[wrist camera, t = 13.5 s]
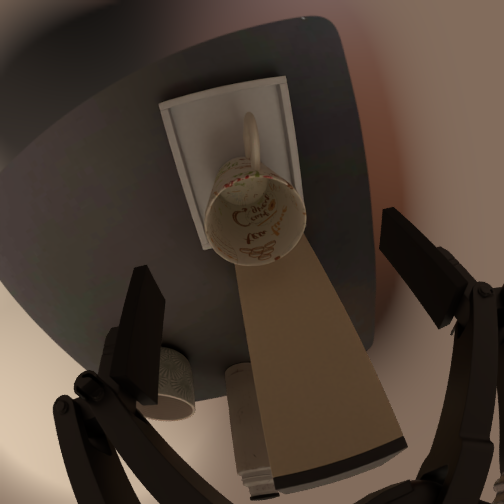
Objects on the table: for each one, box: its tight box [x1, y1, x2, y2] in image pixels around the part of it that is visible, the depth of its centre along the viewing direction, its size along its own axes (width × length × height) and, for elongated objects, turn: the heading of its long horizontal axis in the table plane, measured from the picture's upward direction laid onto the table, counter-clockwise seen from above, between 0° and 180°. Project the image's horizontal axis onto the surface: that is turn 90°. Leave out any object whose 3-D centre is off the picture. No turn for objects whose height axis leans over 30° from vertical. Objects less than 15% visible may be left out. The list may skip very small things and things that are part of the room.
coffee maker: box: [159, 76, 408, 494], centre depth 21 cm, size 27×13×29 cm, turn 11°
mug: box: [204, 112, 306, 266], centre depth 25 cm, size 8×13×10 cm, turn 2°
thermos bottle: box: [225, 363, 280, 500], centre depth 43 cm, size 8×8×28 cm
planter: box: [136, 347, 195, 421], centre depth 44 cm, size 12×12×11 cm
